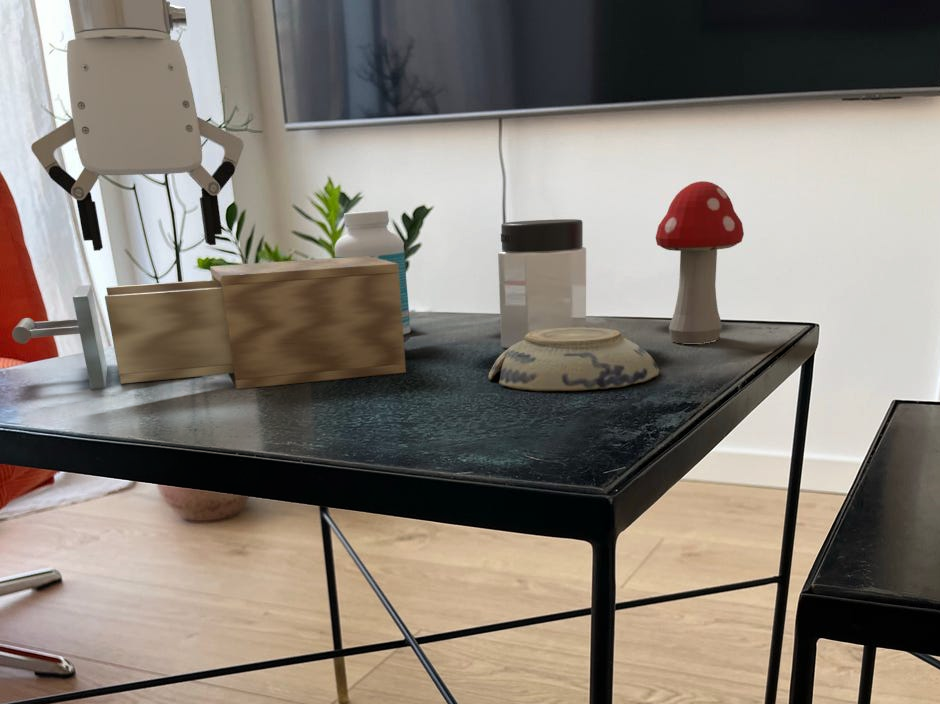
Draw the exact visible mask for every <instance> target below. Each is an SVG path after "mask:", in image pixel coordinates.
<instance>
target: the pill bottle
mask: <svg viewBox="0 0 940 704" xmlns="http://www.w3.org/2000/svg"><path fill="white" fill-rule="evenodd" d="M389 222H390V216H389V211H388V210H386V209H384V210H365V211H353V212H345V213H343V223H344V225H345V228H346V229H347V232H346V234H345V235H343V236H341V237H339V238H338V239H337V241H336V242H335V244H334V258H344V257H359V256H370V257H374V258H378V259H382V260H386V261H390V262H394V263H397V264H398V268H399V282H400V296H401V310H402V324H403V335H406V334H409V333H410V332H411V319H410V318H411V317H410V307H409V295H408V283H407V272H406V271H407V270H406V258H405V257H406V256H405V249H404V247H405V245H404V242H403V240H402V239H401V237H400V236H399V235H398V234H396V233H394V232H391V231H390V230H389V229H388V225H389ZM403 338H404V343H406V342H408V341H409V339H410V338H411V336H406V337H403Z"/></svg>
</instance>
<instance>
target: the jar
mask: <svg viewBox="0 0 940 704" xmlns="http://www.w3.org/2000/svg"><path fill="white" fill-rule="evenodd" d="M583 225H584V224H583V219H576V218H573V219H572V218H571V219H570V218H569V219H568V218H565V219H563V218H562V219H559V218H558V219H537V220H535V219H534V220H518V221H508V222H503V223H502V224H501V226H500V229H501V231H500V232H501V233H500V242H501V251H498V253H497V262H498V291H499V292H498V293H499V294H498V295H499V322H500V323H499V324H500V326H499V327H500V346H501V348H502V349H506V350H507V349H508V348H510V347H511V346H513V345H515V344H516V343H518V342H520V341H522V340H524V337H525V335H526V334H528V333H530V332H533V331H539V330H545V329H555V328H574V327H587V247H585V246H584V245H583V243H584V241H583V237H584V236H583V232H584V231H583V228H584V227H583Z"/></svg>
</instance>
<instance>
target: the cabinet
mask: <svg viewBox="0 0 940 704" xmlns="http://www.w3.org/2000/svg"><path fill="white" fill-rule="evenodd" d="M209 269H210V274H211V275H210V276H211V280H213V279H216V280H217V281H218V282H220V283H221V284H222V292H223V299H224V306H225V313H226V320H227V327H228V334H229V341H230V348H231V355H232V362H233V370H234V373H231V374H228V376H229V378H230V379H231V382H232V383H233V385H234V386H235V388H236V390H241V389H242V390H243V389H253V388H263V387H274V386H282V385H283V386H285V385H294V384H303V383H314V382H325V381H326V382H327V381H337V380H345V379H356V378H364V377H366V378H367V377H376V376H377V377H378V376H387V375H394V374H395V375H396V374H406V373H407V367H406V366H407V365H406V353H405V342H404V338H405V337H404V334H403V324H402V310H401V296H400V282H399V268H398V264H397V263H394V262H390V261H386V260H382V259H378V258H374V257H370V256H359V257H344V258H335V257H331V258H330V257H329V258H317V259H316V258H315V259H301V260H285V261H271V262H269V261H268V262H255V263H241V264H225V265H210V266H209Z"/></svg>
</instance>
